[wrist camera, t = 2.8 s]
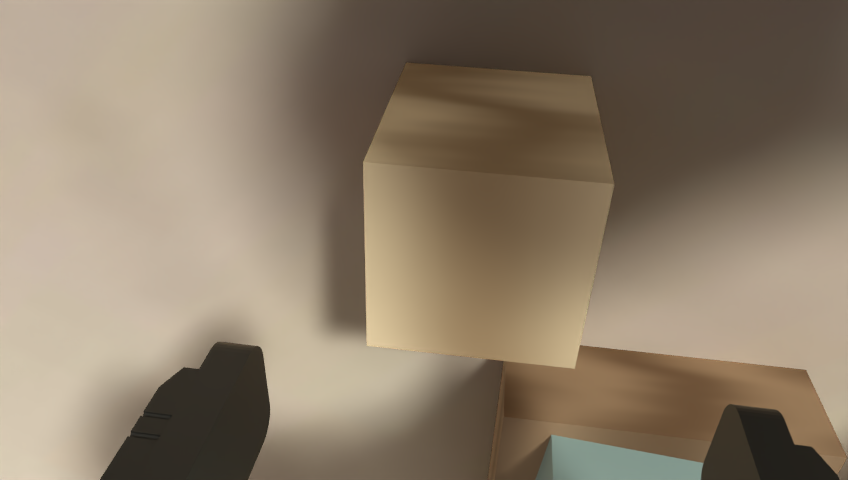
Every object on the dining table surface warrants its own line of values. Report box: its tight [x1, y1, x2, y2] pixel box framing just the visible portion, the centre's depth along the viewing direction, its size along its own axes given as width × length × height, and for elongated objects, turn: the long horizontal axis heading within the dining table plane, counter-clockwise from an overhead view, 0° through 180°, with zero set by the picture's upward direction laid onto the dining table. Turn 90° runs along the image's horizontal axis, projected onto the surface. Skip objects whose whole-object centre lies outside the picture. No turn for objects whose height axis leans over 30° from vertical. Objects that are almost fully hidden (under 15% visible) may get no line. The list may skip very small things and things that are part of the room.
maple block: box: [363, 62, 615, 369], centre depth 17 cm, size 5×5×6 cm
